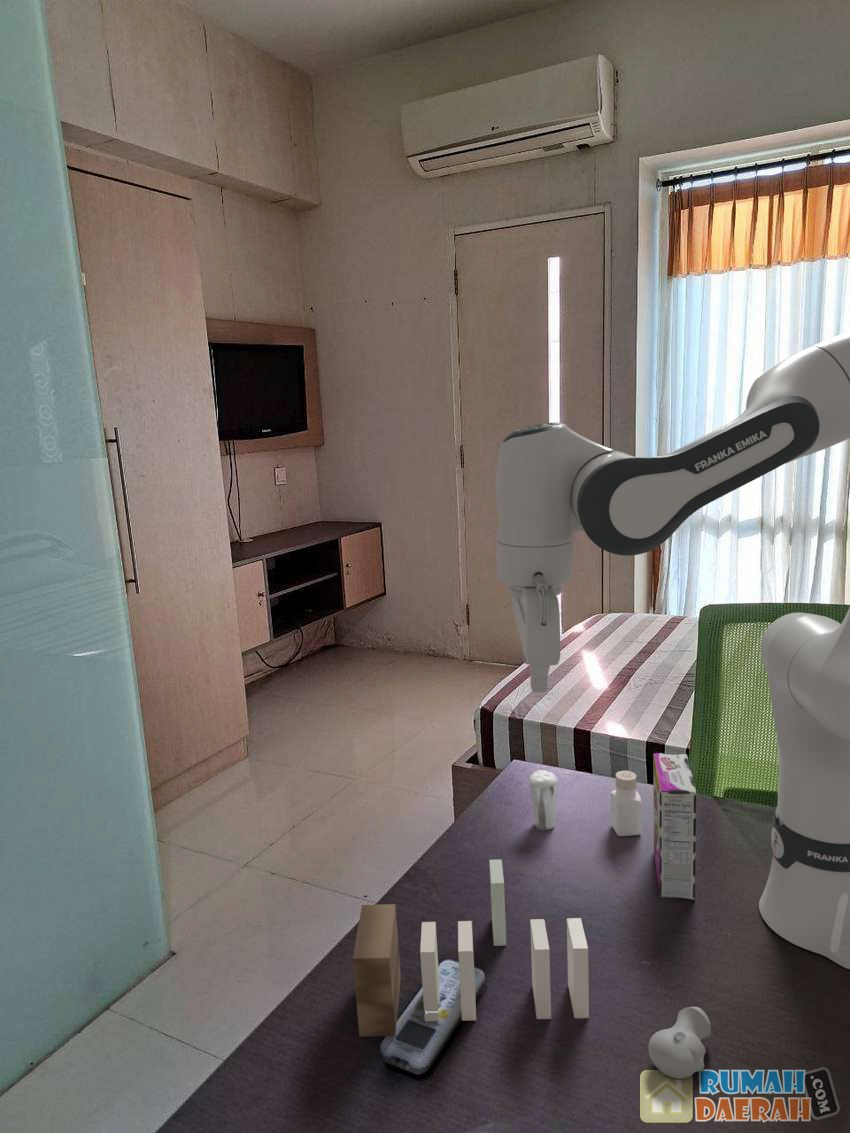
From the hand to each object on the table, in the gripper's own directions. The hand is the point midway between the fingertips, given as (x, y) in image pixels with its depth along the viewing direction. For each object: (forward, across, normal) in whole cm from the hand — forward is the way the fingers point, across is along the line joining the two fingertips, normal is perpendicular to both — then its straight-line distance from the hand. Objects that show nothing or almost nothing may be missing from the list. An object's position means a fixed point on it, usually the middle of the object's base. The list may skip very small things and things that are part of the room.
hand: (534, 675), depth 94 cm
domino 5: (+35, -13, -4) cm, 37 cm away
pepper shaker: (+35, +22, -17) cm, 45 cm away
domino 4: (+35, -13, 0) cm, 37 cm away
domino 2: (+35, -13, +9) cm, 39 cm away
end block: (+36, -13, +19) cm, 42 cm away
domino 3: (+35, -1, +5) cm, 36 cm away
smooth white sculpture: (+35, -21, -13) cm, 43 cm away
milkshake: (+35, +24, -4) cm, 43 cm away
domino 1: (+35, -13, +13) cm, 40 cm away
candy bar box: (+35, +10, -21) cm, 42 cm away
